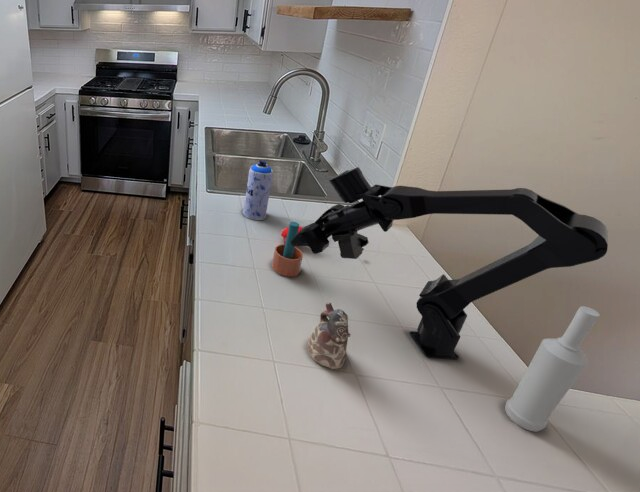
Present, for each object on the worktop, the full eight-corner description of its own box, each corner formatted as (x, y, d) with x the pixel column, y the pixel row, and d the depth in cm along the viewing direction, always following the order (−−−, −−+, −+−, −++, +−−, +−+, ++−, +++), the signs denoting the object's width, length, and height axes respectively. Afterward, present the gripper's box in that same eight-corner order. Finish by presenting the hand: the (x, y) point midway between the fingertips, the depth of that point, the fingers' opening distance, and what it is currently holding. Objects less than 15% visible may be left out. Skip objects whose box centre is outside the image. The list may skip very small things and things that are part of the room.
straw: (290, 270, 105) (299, 227, 99) (280, 268, 105) (289, 225, 100) (290, 265, 107) (299, 222, 101) (280, 263, 108) (289, 220, 102)
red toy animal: (278, 245, 116) (282, 229, 114) (280, 235, 121) (283, 219, 119) (307, 252, 113) (311, 235, 110) (308, 242, 118) (311, 225, 116)
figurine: (323, 372, 76) (336, 327, 72) (299, 344, 83) (310, 300, 78) (352, 364, 78) (367, 319, 74) (327, 337, 85) (339, 294, 80)
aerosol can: (238, 209, 136) (246, 157, 128) (259, 207, 137) (267, 156, 129) (249, 221, 129) (257, 166, 121) (270, 219, 130) (280, 165, 122)
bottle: (502, 398, 72) (562, 294, 62) (541, 416, 69) (610, 309, 59) (504, 420, 68) (568, 312, 58) (545, 439, 65) (620, 329, 55)
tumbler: (302, 277, 103) (306, 260, 101) (275, 276, 103) (279, 259, 101) (294, 260, 109) (297, 244, 107) (268, 259, 110) (271, 243, 108)
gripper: (360, 266, 81) (300, 281, 93) (390, 234, 92) (333, 251, 104) (329, 219, 83) (275, 239, 95) (362, 193, 95) (310, 214, 107)
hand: (300, 237), depth 100 cm, fingers open, 9 cm apart
